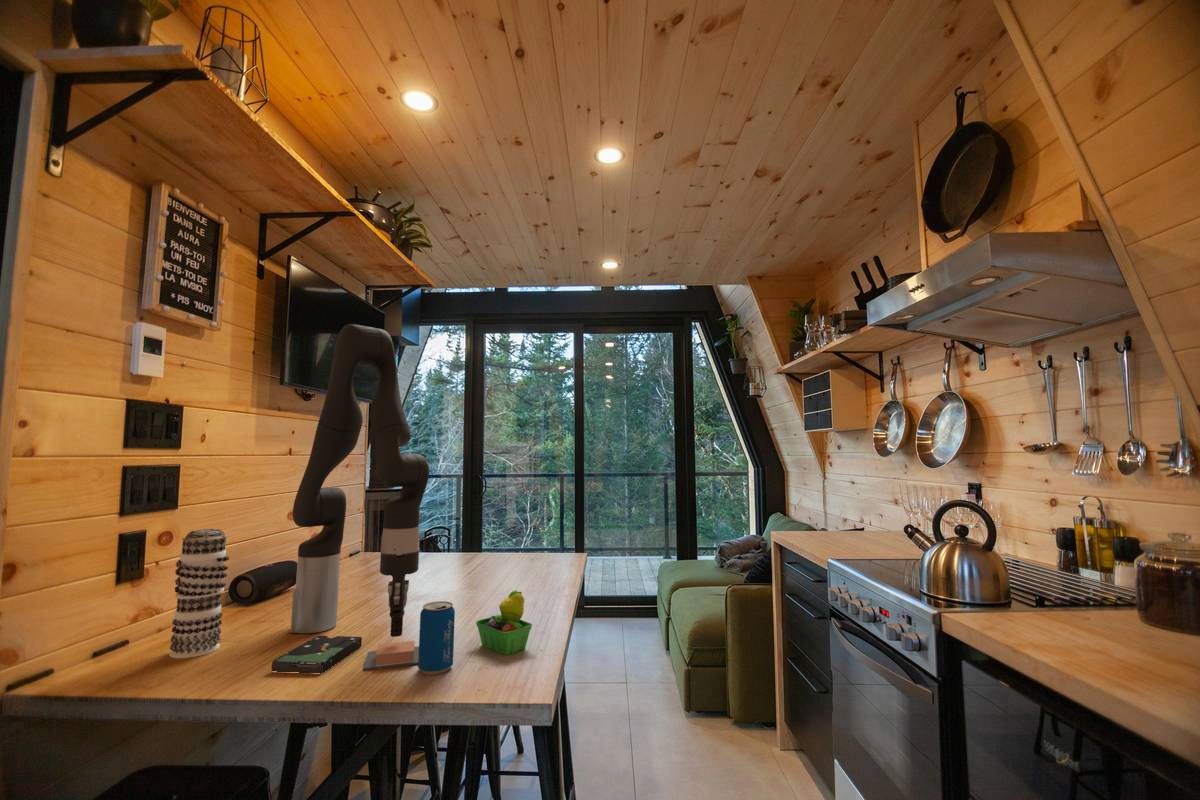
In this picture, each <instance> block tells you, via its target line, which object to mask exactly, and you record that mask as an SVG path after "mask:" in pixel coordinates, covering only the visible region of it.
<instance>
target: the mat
mask: <svg viewBox="0 0 1200 800" xmlns="http://www.w3.org/2000/svg"><path fill="white" fill-rule="evenodd" d="M376 653H377V650H371V651H368V652H367V655H366V659H365V662H364V665H363V667H362V668H363V669H362V670H365V671H371V670H370V669H374V670H380V669H379V668H381V670H382V668H383V669H389V668H391V667H392V668H398V667H407V666H418V659H419V646H415V647H414V662H412V663H403V664H394V665H385V666H376V667H375V663H376ZM392 668H391V669H392Z"/></svg>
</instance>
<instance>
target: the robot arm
mask: <svg viewBox="0 0 1200 800" xmlns="http://www.w3.org/2000/svg"><path fill="white" fill-rule="evenodd" d="M396 360H397V359H396V353H395V347H394V342H393V340H392V336H391V335H390V333H389V332H388V331H386V330H385V329H382V328H377V327H372V326H367V325H366V326H365V325H360V324H355V323H348V324H346V325H344V326H342V329H340V331H339V333H338V335H337V338H336V343H335V347H334V352H333V358H332V364H331V370H330V377H329V381H328V387H327V391H326V395H325V398H324V403H323V406H322V409H321V413H320V414H319V415H320V416H319V418H318V422H317V427H316V430H315V434H314V438H313V443H312V448H311V451H310V455H309V458H308V462H307V464H306V468H305V470H304V474H303V476H302V478H301V482H300V483H299V487H298V489H297V493H296V495H295V498H294V501H293V507H292V519H293V522H294V524H295V525H296V526H297V527H301V528H313V527H322V529H321V531H320V532H318V533H317V534H316V535H314V536H313V537H311V538H309V539H307V540H304V541H303V542H300V544H299V545H298V547H297V548H298V550H297V561H296V562H297V563H296V564H297V565H296V581H295V588H294V590H293V591H292V601H291V602H292V604H291V617H290V618H291V619H290V633H291V634H296V633H297V634H313V633H314V634H315V633H321V632H325V631H329V630H331V629H333V628H335V627H336V626H337V620H338V602H339V587H340V585H339V583H340V572H341V571H340V569H341V555H342V554H341V549H342V544H343V539H344V530H345V522H346V512H347V497H346V494H345V492H344V489H342V488H340V487H323V485H324V482H325V481H326V480H327V477H328V476H329V475H330V474H331V473H332V472H333V471H334V470H335V468H337V466H339V465H340V464H341V463H342V462H343V461H344V460H345V459H346V458H347V457H348V456H349V455H350V454H351V453H352V452H353V450H355V448H356V446H357V444H358V442H359V441H358V440H359V438H360V435H361V434H360V433H361V431H362V426H363V422H364V419H363V418H364V416H363V413H362V410H361V409H362V408H361V406H360V404H359V401H358V400H357V398H356V397H357V396H356V394H355V391H354V376H355V372H356V368H357V366H358V367H367V368H368V367H369V368H373V369H374V371H375V373H376V377H377V386H376V387H377V388H376V389H375V392H374V395H373V398H372V400H371V404H370V410H369V416H370V422H371V426H372V429H373V432H374V435H375V439H376V467H375V468H376V475H377V477H378V480H380V482H381V484H383V485H384V486H385V487H387V488H401V489H400V492H399V494H398V496H396V497H394V498H390V499H389V500H387V501H386V502H385V504H384V509H383V510H384V511H383V524H382V525H383V529H382V535H381V539H380V540H381V544H380V561H379V562H380V563H379V573H380V574H381V575H383V576H387V577H388V576H391V577H392V580H389V581H388V584H387V594H388V607H389V618H390V636H391V637H393V638H395V637H396V638H397V637H401V636H402V635H403V627H404V625H403V624H404V616H405V613H406V612H405V608H406V605H407V602H408V591H409V586H410V579H406V575H412V574H415V573H417V572H418V571H419V563H420V541H421V540H420V528H419V527H420V508H421V504H422V501H423V498H424V495H425V491H426V488H427V484H428V481H429V477H430V466H429V462H428V461H427V459H426V458H425V457H424V456H423V455H422V454H419V453H401V452H400V451H401V450H400V448H402V447H403V446H405V445H407V444H408V443H409V442H410V441H411V438H412V436H411V435H412V434H411V430H410V427H409V424H408V421H407V417H406V413H405V411H404V410H405V409H404V406H403V403H402V398H401V394H400V386H399V376H398V366H397V361H396Z"/></svg>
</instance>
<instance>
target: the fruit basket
mask: <svg viewBox="0 0 1200 800" xmlns="http://www.w3.org/2000/svg"><path fill="white" fill-rule="evenodd" d="M522 593H523V592H522V591H518V590H512V591H511V592H510V593H509V595H508V596H507V598H505V599H504V600H502V601H501V602H500V604H499V605H498V608H499V612H500V615H498V614H496V615H494V614H493V615H492V616H490V617H487V618H483V619H478V620H477V621H475V624H476V628H477V631H478V633H479V638H480V642H481V645H482V646H483V645H484V647H485V646H487V647H486V648H488V649H490V648H491V649H490V650H493V649H494V650H493V651H495V650H496V651H495V652H497V651H498V653H500V652H501V654H502V653H503V654H502V655H505V656H508V654H509V655H510V653H511V654H514V653H517V652H520V651H522V649H523V650H525V649H526V646H527V643H528V639H529V636H530V632H531V630H532V626H533V623H532V622H531V623H530V622H528V621H526V620H522V618H523V615H524V610H525V609H524V607H525V606H524V604H525V598H524V596H523V594H522ZM519 650H520V651H519ZM516 651H517V652H516ZM513 652H514V653H513Z"/></svg>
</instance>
